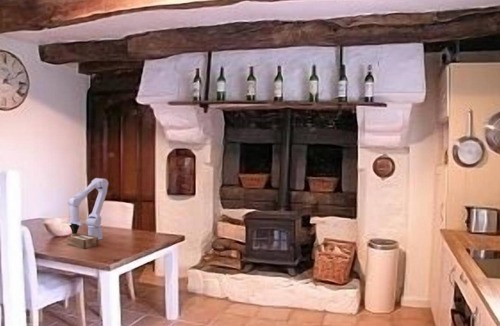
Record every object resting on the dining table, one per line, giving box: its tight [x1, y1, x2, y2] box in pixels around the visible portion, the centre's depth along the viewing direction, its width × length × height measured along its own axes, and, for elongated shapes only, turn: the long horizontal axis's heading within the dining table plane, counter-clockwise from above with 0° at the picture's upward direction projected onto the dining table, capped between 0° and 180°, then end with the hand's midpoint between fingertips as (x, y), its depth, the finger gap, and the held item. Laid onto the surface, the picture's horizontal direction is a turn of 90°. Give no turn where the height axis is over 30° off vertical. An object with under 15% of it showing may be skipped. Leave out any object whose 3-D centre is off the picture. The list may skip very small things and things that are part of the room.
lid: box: [70, 232, 94, 240], centre depth 320 cm, size 9×16×2 cm, turn 55°
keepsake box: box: [67, 233, 99, 250], centre depth 320 cm, size 11×18×6 cm, turn 55°
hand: (74, 234), depth 325 cm, fingers closed
